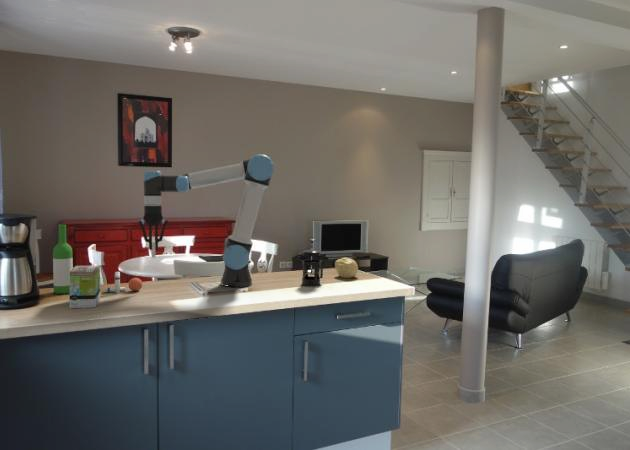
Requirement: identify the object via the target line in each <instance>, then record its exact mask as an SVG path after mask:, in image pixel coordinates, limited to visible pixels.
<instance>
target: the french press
mask: <svg viewBox="0 0 630 450" xmlns="http://www.w3.org/2000/svg"><path fill="white" fill-rule="evenodd" d="M307 240H308V241H310V243H311V244H314V241H317V239H315V238H308V239H307ZM321 252H322V251H321V250H315V249H306V250H303V251H302V253H303V255H304V256H306V255H308V257H310V258H311V259H303V260H302V277H301V285H302V286H304V287H320V286H321V279H323V275H324V274H323V273H324V261H323V260H318V259H313V258H315V257H317V258H319V257H320V256H321ZM309 266H310V270H309ZM312 266H314V268H313V267H312ZM313 269H314V270H313ZM310 275H311V276H310Z"/></svg>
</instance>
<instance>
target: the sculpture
mask: <svg viewBox="0 0 630 450" xmlns="http://www.w3.org/2000/svg"><path fill="white" fill-rule="evenodd" d="M358 266H359V265H358V264H357V262H356V260H354V259H352V258H350V257H345V256H344V257H341V258H339V259H337V260H336V261H335V262H334V269H335V270H336V273H337V275H338V277H340V278H344V279H350V278H354V277H356V276H357V274H358V271H359V267H358Z"/></svg>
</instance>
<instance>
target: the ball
mask: <svg viewBox="0 0 630 450" xmlns="http://www.w3.org/2000/svg"><path fill="white" fill-rule="evenodd" d="M142 288H143V281H142V280H141V279H140V278H139V277H133V278H131V279H130V280H129V282H128V289H130V291H133V292H138V291H140V290H141V289H142Z"/></svg>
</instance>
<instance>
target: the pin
mask: <svg viewBox="0 0 630 450" xmlns="http://www.w3.org/2000/svg"><path fill="white" fill-rule="evenodd" d="M114 287H115V292H114V294H115V295H118V294H120V293H121V292H120V287H121V273H120V274H115V273H114Z"/></svg>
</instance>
